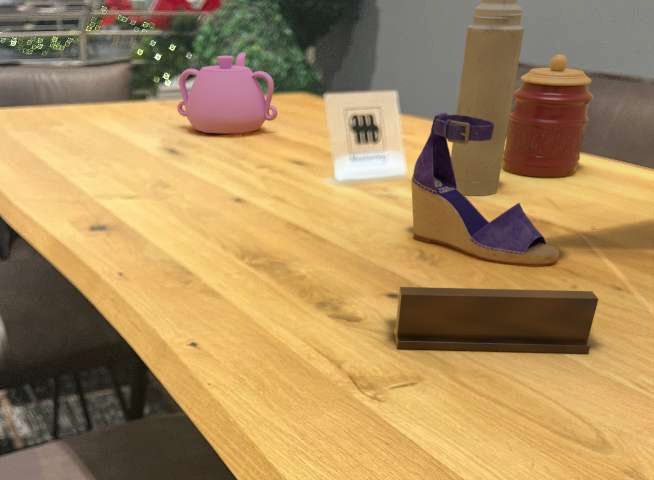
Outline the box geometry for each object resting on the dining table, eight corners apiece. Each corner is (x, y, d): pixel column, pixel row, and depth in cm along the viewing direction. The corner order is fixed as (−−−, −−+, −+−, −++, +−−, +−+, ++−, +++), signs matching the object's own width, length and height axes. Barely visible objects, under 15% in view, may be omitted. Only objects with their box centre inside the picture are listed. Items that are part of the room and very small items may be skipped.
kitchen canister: (534, 158, 142) (555, 49, 131) (592, 172, 133) (619, 56, 123) (485, 167, 136) (502, 52, 126) (542, 182, 127) (565, 60, 117)
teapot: (290, 122, 171) (291, 51, 163) (267, 140, 154) (267, 62, 146) (197, 117, 175) (194, 48, 167) (164, 135, 158) (159, 58, 150)
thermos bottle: (446, 182, 126) (472, -23, 110) (496, 184, 125) (529, -22, 109) (446, 194, 120) (474, -21, 104) (498, 196, 119) (535, -21, 103)
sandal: (535, 274, 90) (563, 135, 81) (397, 239, 101) (409, 113, 92) (566, 258, 95) (596, 125, 86) (431, 226, 105) (445, 106, 97)
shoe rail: (577, 336, 75) (589, 287, 72) (588, 354, 72) (602, 302, 69) (393, 332, 76) (398, 282, 73) (397, 349, 72) (402, 298, 69)
